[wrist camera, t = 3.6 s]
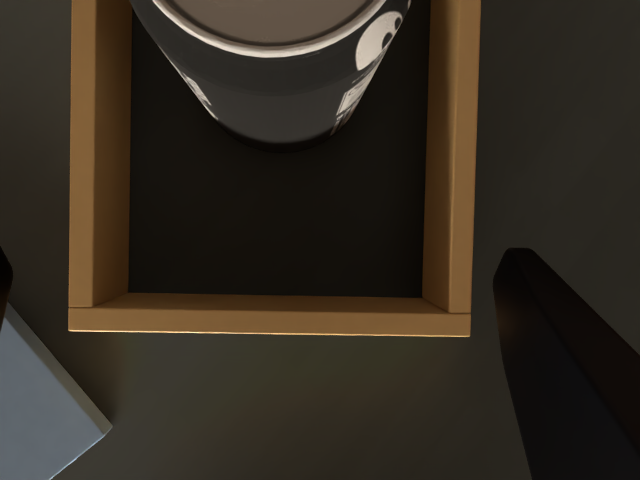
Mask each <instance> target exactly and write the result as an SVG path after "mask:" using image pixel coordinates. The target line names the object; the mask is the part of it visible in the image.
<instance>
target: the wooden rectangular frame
mask: <svg viewBox="0 0 640 480" xmlns="http://www.w3.org/2000/svg"><path fill="white" fill-rule="evenodd" d="M480 16H481V0H431V12H430V46H429V79H428V112H427V145H426V178H425V211H424V244H423V278H422V297H423V298H397V297H341V296H285V295H229V294H173V293H127V292H128V281H129V207H130V134H131V60H132V5H131V3H130V0H72V36H71V134H70V232H69V307H70V308H69V331H97V332H166V333H236V334H305V335H375V336H444V337H469V336H470V328H471V314H469V313H470V312H471V289H472V259H473V229H474V198H475V168H476V138H477V107H478V77H479V47H480Z"/></svg>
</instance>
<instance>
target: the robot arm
mask: <svg viewBox="0 0 640 480" xmlns="http://www.w3.org/2000/svg"><path fill="white" fill-rule="evenodd" d="M12 281H13V270H12V266H11V264H10V263H9V261H8V259H7V257H6V255H5V254H4V252H3V250H2V248H1V246H0V332H1V328H2V324H3V320H4V315H5V311H6V307H7V302H8V298H9V294H10V290H11V285H12ZM493 292H494V300H495V308H496V315H497V323H498V331H499V339H500V346H501V353H502V360H503V365H504V369H505V374H506V378H507V382H508V386H509V390H510V394H511V398H512V402H513V406H514V409H515V413H516V417H517V421H518V425H519V429H520V433H521V437H522V441H523V445H524V449H525V453H526V457H527V461H528V465H529V469H530V473H531V476H532V480H640V355H639V354H638V353H637V352H636V351H635V350H634V349H633V348H632V347H631V346H630V345H629V344H628V343H627V342H626V341H625V340H624V339H623V338H622V337H621V336H620V335H619V334H617V333H616V332H615V331H614V330H613V329H612V328H611V327H610V326H609V325H608V324H607V323H606V322H605V321H604V320H603V319H602V318H601V317H600V316H599V315H598V314H597V313H596V312H595V311H594V310H593V309H592V308H591V307H590V306H589V305H588V304H587V303H586V302H585V301H584V300H583V299H582V298H581V297H580V296H579V295H578V294H577V293H576V292H575V291H574V290H573V289H572V288H571V287H570V286H569V285H568V284H567V283H566V282H565V281H564V280H563V279H562V278H561V277H560V276H559V275H558V274H557V273H556V272H555V271H554V270H553V269H552V268H551V267H550V266H549V265H548V264H547V263H546V262H545V261H544V260H543V259H542V258H541V257H539V256H538V255H537V254H536V253H535V252H534V251H533V250H531V249H529V248H508V249H507V250H506V251H505V253H504V255H503V257H502V259H501V262H500V264H499V266H498V268H497V271H496V273H495V275H494V279H493Z"/></svg>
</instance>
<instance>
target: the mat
mask: <svg viewBox="0 0 640 480" xmlns="http://www.w3.org/2000/svg"><path fill="white" fill-rule="evenodd" d="M112 427H113V426H112V424H111V423H110V422H109V421H108V420H107V418H106V417H105V416H104V415H103V414H102V412H101V411H100V410H99V409H98V408H97V407H96V405H95V404H94V403H93V402H92V401H91V399H90V398H89V397H88V396H87V395H86V394H85V392H84V391H83V390H82V389H81V388H80V386H79V385H78V384H77V383H76V382H75V381H74V379H73V378H72V377H71V376H70V375H69V373H68V372H67V371H66V370H65V369H64V368H63V366H62V365H61V364H60V363H59V362H58V360H57V359H56V358H55V357H54V356H53V355H52V353H51V352H50V351H49V350H48V349H47V347H46V346H45V345H44V344H43V343H42V342H41V340H40V339H39V338H38V337H37V336H36V334H35V333H34V332H33V331H32V330H31V329H30V327H29V326H28V325H27V324H26V323H25V321H24V320H23V319H22V318H21V317H20V316H19V314H18V313H17V312H16V311H15V310H14V308H13V307H12V306H11V305H10V304H9V303H8V302H7V307H6V311H5V315H4V320H3V324H2V328H1V332H0V480H50V479H51V478H53V477H54V476H55V475H56V474H58V473H59V472H60V471H61V470H63V469H64V468H65V467H66V466H68V465H69V464H70V463H71V462H73V461H74V460H75V459H76V458H78V457H79V456H80V455H81V454H83V453H84V452H85V451H86V450H88V449H89V448H90V447H91V446H93V445H94V444H95V443H96V442H98V441H99V440H100V439H101V438H103V437H104V436H105V435H106V434H107V433H108V431H109V430H110V429H111V428H112Z"/></svg>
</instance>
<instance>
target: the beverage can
mask: <svg viewBox="0 0 640 480" xmlns="http://www.w3.org/2000/svg"><path fill="white" fill-rule="evenodd" d="M411 2H412V0H130V3H131V5H132V7H133V9H134V11H135V13H136V15H137V16H138V18H139V20H140V21H141V23H142V24H143V26H144V28H145V29H146V30H147V32H148V33H149V34H150V36H151V37H152V38H153V40H154V41H155V42H156V44H157V45H158V46H159V48H160V49H161V50H162V52H163V53H164V54H165V55H166V57H167V58H168V59H169V61H170V62H171V63H172V65H173V66H174V67H175V69H176V70H177V71H178V72H179V74H180V75H181V76H182V78H183V79H184V80H185V82H186V83H187V84H188V86H189V87H190V88H191V89H192V91H193V92H194V93H195V95H196V96H197V97H198V99H199V100H200V101H201V103H202V104H203V105H204V106H205V108H206V109H207V110H208V112H209V113H210V114H211V116H212V117H213V118H214V120H215V121H216V122H217V123H218V124H219V125H220V126H221V127H222V128H223V129H224V130H225V131H226V132H227V133H228V134H229V135H231V136H232V137H233V138H235V139H236V140H238V141H240V142H242V143H243V144H245V145H248V146H250V147H253V148H255V149H259V150H263V151H267V152H275V153H289V152H297V151H301V150H305V149H309V148H311V147H314V146H316V145H318V144H320V143H322V142H324V141H326V140H327V139H329V138H330V137H331V136H333V135H334V134H335V133H336V132H338V131H339V130H340V129H341V128H342V127H343V126H344V125H345V123H346V122H347V121H348V120H349V118H350V117H351V115H352V114H353V112H354V110H355V108H356V107H357V105H358V103H359V101H360V99H361V97H362V95H363V94H364V92H365V90H366V88H367V86H368V84H369V82H370V80H371V79H372V77H373V75H374V73H375V71H376V69H377V67H378V66H379V64H380V62H381V60H382V58H383V56H384V54H385V53H386V51H387V49H388V47H389V45H390V43H391V41H392V40H393V38H394V36H395V34H396V32H397V30H398V28H399V26H400V25H401V23H402V21H403V19H404V17H405V15H406V13H407V11H408V9H409V7H410V4H411Z"/></svg>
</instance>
